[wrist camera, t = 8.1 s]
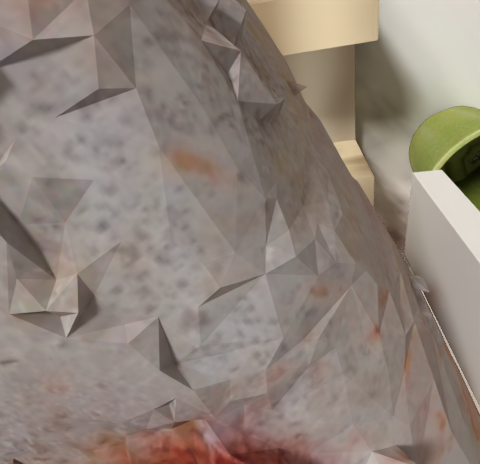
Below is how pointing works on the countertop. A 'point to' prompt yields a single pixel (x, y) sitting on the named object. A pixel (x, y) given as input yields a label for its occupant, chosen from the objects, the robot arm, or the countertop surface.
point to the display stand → (326, 63)
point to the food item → (197, 257)
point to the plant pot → (450, 148)
